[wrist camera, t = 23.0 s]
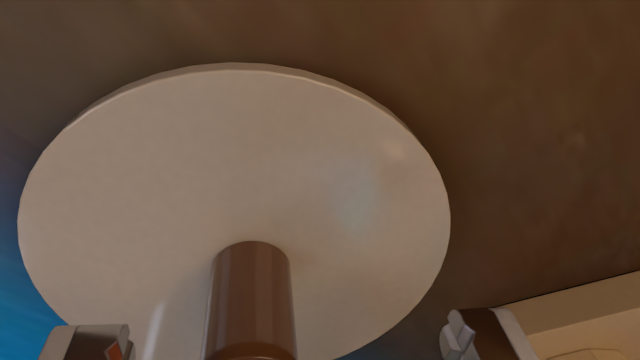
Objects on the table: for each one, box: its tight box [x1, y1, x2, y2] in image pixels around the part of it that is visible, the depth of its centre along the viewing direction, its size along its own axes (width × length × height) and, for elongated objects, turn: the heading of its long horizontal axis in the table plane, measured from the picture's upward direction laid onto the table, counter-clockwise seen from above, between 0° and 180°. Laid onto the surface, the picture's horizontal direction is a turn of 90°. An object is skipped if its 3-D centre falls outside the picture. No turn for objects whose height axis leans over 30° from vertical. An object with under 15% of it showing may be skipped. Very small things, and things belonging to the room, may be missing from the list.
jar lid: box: [17, 62, 451, 360], centre depth 12 cm, size 14×14×5 cm
